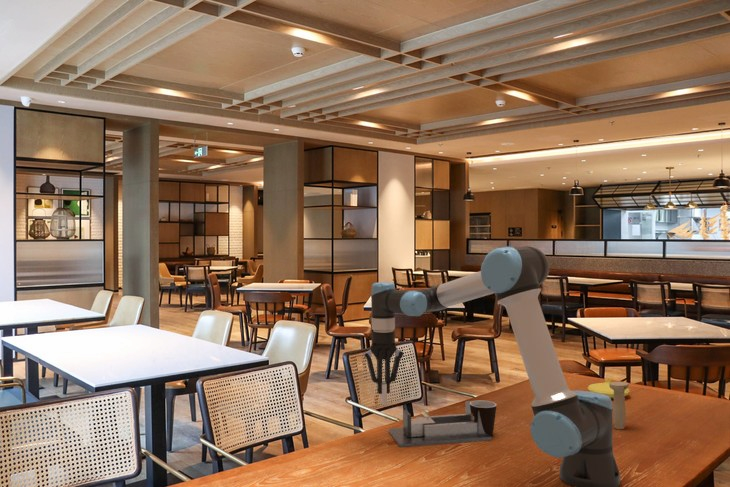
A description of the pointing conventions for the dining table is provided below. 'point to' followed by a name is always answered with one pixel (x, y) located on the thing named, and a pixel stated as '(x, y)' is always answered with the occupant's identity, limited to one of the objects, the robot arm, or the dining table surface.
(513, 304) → the robot arm
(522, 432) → the dining table surface
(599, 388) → the yellow pot lid
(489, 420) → the coffee mug
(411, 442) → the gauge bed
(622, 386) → the handle
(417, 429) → the grey bracket
